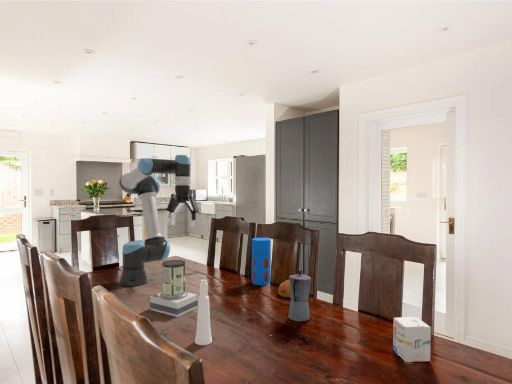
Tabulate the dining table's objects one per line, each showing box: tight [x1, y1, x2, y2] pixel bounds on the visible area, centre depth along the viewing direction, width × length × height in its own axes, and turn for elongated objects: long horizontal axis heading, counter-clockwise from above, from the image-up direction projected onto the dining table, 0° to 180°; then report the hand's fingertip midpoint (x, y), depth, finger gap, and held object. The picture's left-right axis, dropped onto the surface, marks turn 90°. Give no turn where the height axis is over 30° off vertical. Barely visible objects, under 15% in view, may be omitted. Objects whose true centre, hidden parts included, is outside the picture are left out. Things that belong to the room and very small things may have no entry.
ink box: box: [392, 316, 432, 363], centre depth 112 cm, size 9×8×12 cm
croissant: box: [277, 279, 291, 299], centre depth 177 cm, size 14×16×8 cm
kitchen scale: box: [149, 290, 198, 318], centre depth 155 cm, size 16×13×7 cm
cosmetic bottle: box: [194, 278, 213, 346], centre depth 122 cm, size 6×6×22 cm
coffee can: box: [161, 259, 187, 297], centre depth 155 cm, size 10×10×14 cm
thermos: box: [251, 237, 272, 286], centre depth 197 cm, size 11×11×25 cm
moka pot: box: [287, 270, 312, 322], centre depth 144 cm, size 10×15×20 cm, turn 161°
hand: (182, 225), depth 179 cm, fingers open, 13 cm apart
